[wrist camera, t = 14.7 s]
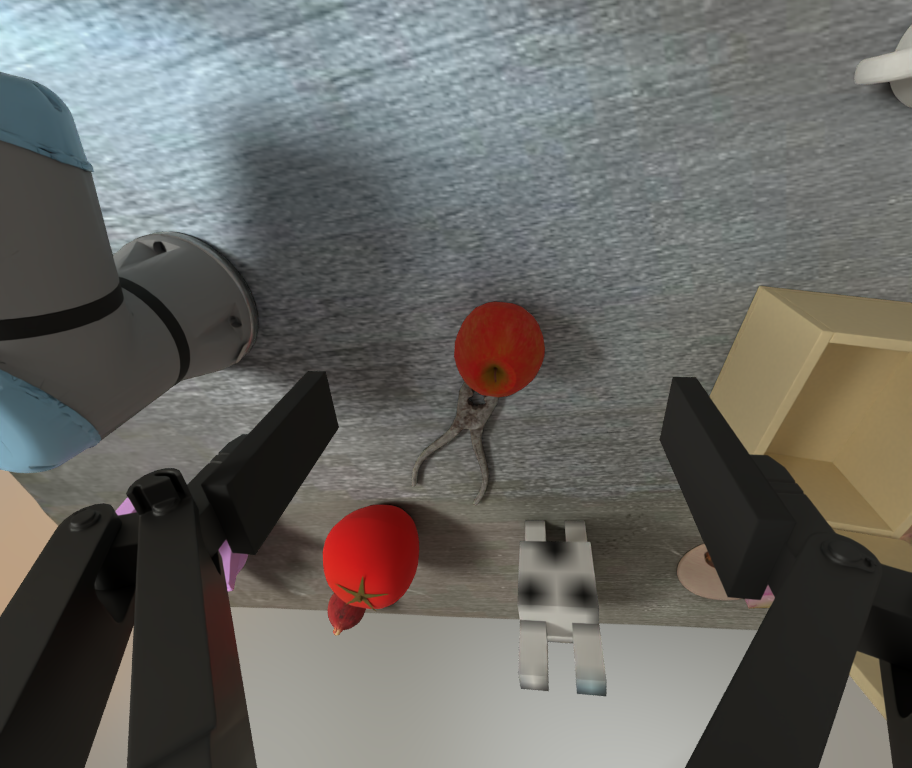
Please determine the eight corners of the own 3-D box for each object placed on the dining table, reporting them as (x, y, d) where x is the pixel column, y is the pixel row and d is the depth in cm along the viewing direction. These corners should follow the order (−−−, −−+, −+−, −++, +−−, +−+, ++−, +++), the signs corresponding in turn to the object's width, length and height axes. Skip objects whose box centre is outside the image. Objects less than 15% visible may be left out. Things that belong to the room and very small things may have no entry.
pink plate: (781, 533, 51) (801, 566, 47) (781, 596, 56) (798, 630, 52) (672, 543, 55) (682, 575, 51) (681, 601, 60) (691, 634, 56)
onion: (341, 569, 69) (320, 617, 62) (376, 580, 69) (358, 630, 62) (336, 588, 72) (315, 637, 65) (368, 600, 72) (351, 649, 65)
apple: (485, 375, 46) (473, 436, 37) (446, 311, 43) (422, 360, 34) (557, 345, 43) (562, 403, 34) (520, 273, 40) (516, 316, 31)
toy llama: (533, 580, 63) (532, 749, 46) (521, 492, 54) (515, 658, 37) (586, 582, 61) (606, 758, 44) (583, 491, 53) (606, 665, 36)
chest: (758, 285, 37) (822, 330, 29) (942, 305, 36) (1064, 359, 28) (688, 442, 47) (721, 511, 38) (832, 463, 45) (898, 539, 37)
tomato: (446, 523, 59) (426, 610, 49) (396, 557, 65) (369, 641, 54) (376, 471, 56) (338, 551, 46) (330, 511, 62) (287, 591, 51)
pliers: (411, 496, 56) (410, 362, 46) (412, 491, 57) (412, 359, 47) (484, 508, 55) (501, 374, 45) (485, 503, 56) (502, 370, 46)
